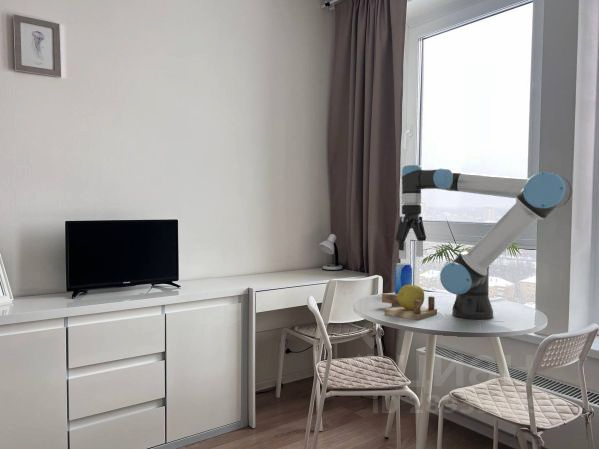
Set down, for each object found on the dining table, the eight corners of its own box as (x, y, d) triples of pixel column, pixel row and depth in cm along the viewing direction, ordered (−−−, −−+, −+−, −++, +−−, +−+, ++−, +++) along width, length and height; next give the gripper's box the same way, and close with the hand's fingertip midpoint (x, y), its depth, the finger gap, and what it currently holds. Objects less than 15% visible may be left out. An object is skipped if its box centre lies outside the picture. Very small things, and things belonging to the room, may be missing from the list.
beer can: (401, 294, 235) (401, 262, 235) (415, 296, 229) (415, 263, 229) (391, 295, 230) (391, 263, 230) (405, 298, 224) (405, 264, 223)
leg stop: (401, 307, 199) (401, 300, 199) (399, 308, 198) (399, 301, 198) (393, 306, 202) (393, 299, 202) (391, 306, 201) (391, 300, 201)
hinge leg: (407, 304, 194) (407, 292, 193) (404, 305, 192) (404, 293, 192) (384, 301, 200) (384, 290, 200) (381, 302, 198) (382, 291, 198)
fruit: (429, 309, 184) (429, 284, 184) (413, 313, 178) (413, 287, 178) (408, 305, 192) (408, 281, 192) (392, 309, 185) (392, 284, 185)
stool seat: (437, 314, 185) (437, 296, 185) (418, 320, 174) (418, 301, 174) (403, 309, 196) (403, 292, 195) (384, 314, 185) (384, 297, 184)
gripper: (418, 205, 196) (417, 255, 196) (386, 203, 178) (386, 259, 178) (434, 205, 191) (434, 256, 191) (403, 203, 173) (403, 260, 173)
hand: (411, 257), depth 185 cm, fingers open, 13 cm apart
